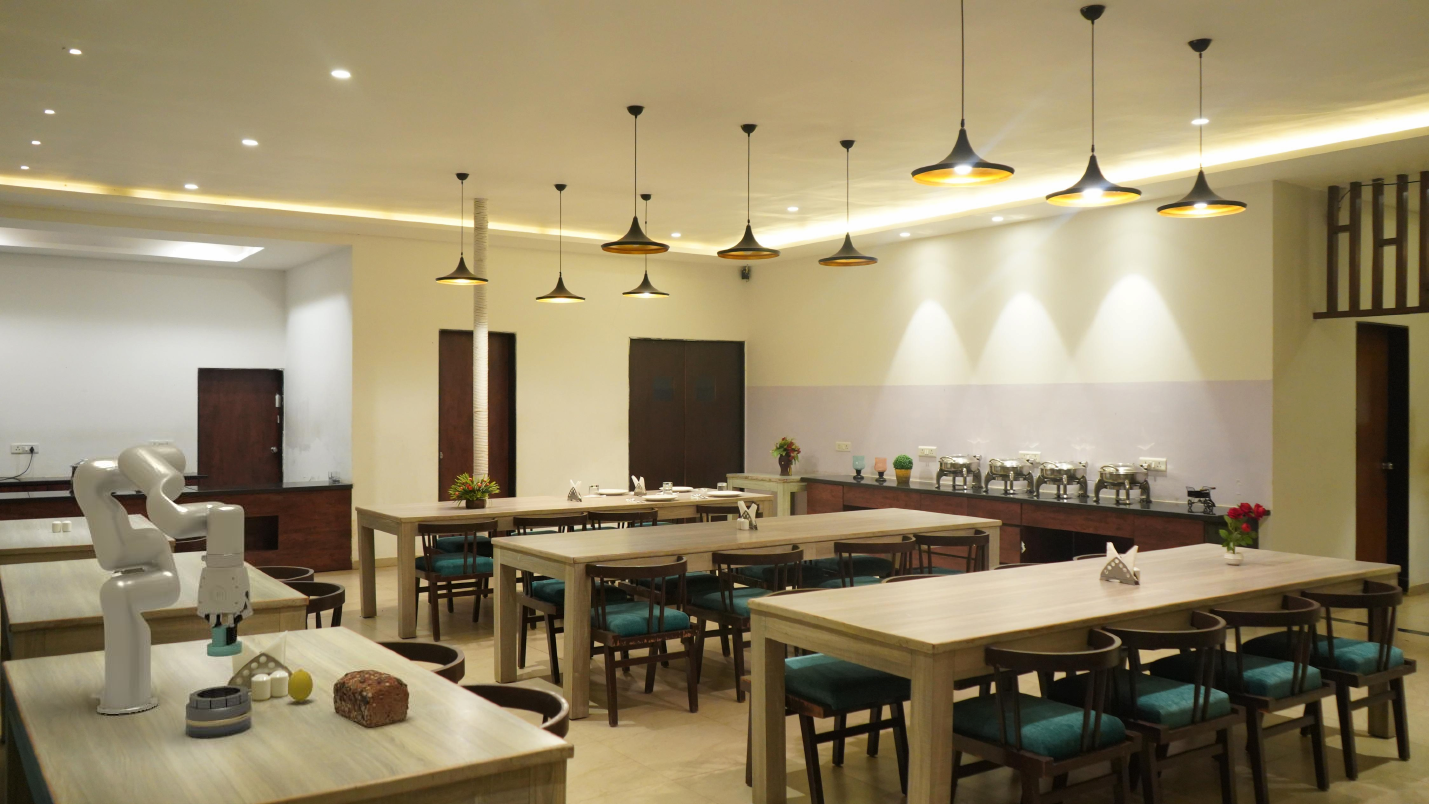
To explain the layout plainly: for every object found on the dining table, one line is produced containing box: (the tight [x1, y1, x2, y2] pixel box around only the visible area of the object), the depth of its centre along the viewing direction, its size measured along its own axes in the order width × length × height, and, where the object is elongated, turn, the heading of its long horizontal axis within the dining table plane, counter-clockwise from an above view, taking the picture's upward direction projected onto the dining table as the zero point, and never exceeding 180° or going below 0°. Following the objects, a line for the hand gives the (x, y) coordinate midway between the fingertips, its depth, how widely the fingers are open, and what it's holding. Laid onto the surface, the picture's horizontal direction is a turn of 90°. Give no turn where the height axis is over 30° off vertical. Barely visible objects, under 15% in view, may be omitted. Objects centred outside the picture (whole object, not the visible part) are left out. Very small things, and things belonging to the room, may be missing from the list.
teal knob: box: [206, 622, 243, 658], centre depth 227 cm, size 7×7×6 cm
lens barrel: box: [185, 685, 253, 739], centre depth 227 cm, size 13×13×8 cm
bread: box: [332, 669, 410, 728], centre depth 236 cm, size 19×11×10 cm, turn 42°
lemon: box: [287, 668, 314, 704], centre depth 247 cm, size 6×6×8 cm
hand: (224, 643), depth 227 cm, fingers closed on teal knob
